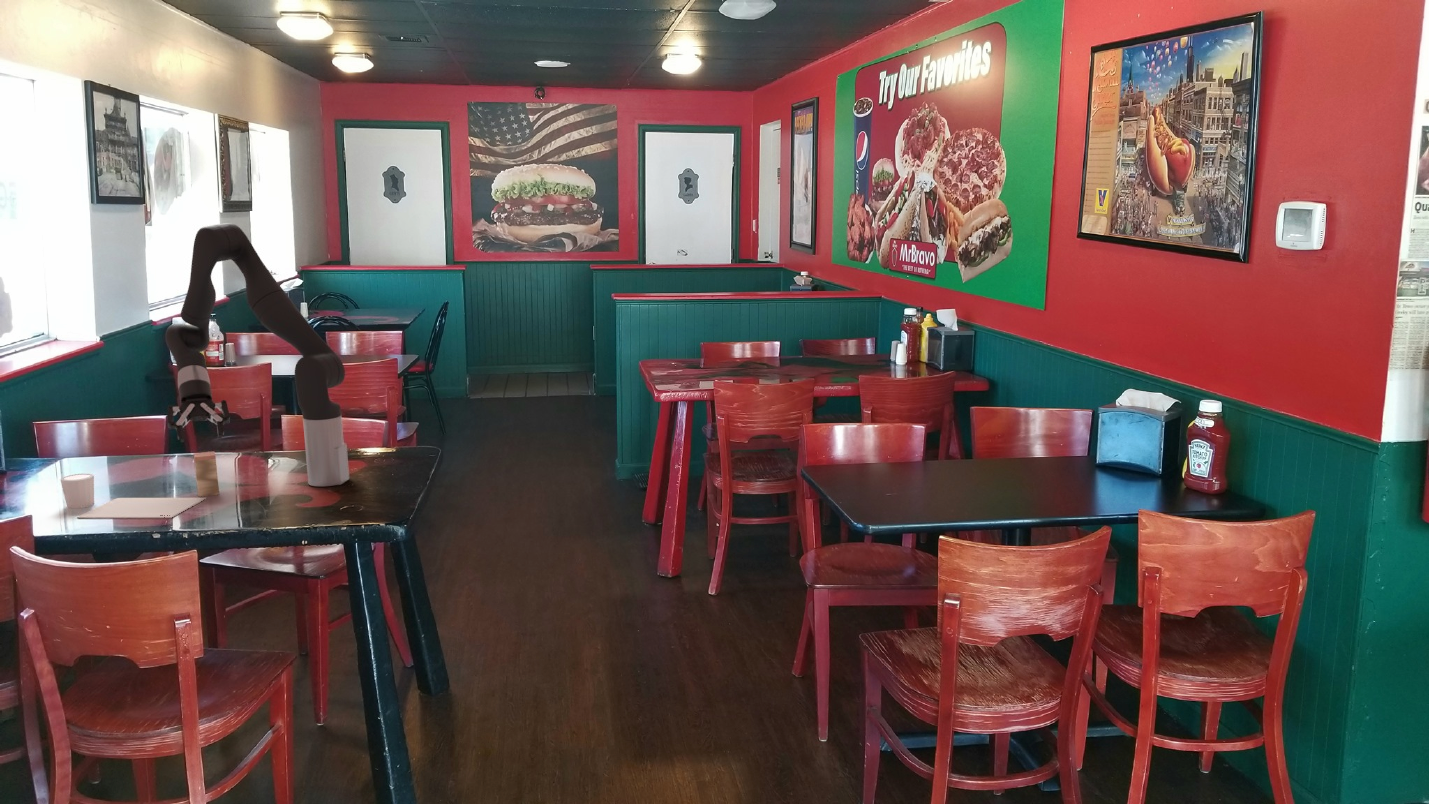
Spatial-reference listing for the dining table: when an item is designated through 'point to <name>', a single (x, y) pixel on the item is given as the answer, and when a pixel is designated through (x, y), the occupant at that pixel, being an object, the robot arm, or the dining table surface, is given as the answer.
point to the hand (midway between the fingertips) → (201, 438)
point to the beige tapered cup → (78, 490)
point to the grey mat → (142, 508)
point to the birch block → (206, 473)
